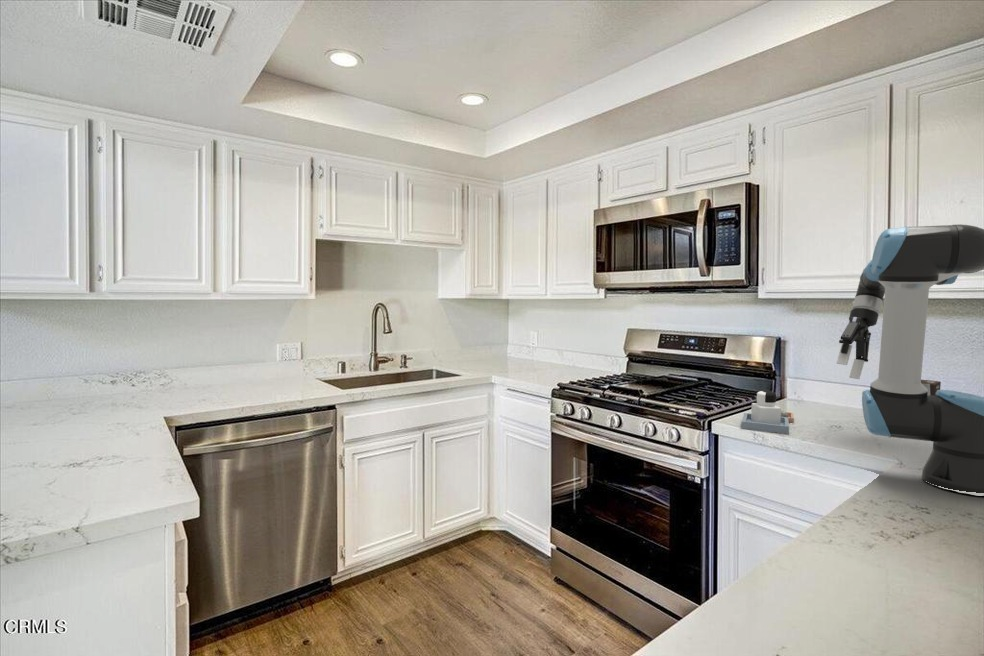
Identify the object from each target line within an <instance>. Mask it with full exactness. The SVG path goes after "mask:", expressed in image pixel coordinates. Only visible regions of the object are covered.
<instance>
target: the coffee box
mask: <svg viewBox="0 0 984 656" xmlns="http://www.w3.org/2000/svg"><path fill="white" fill-rule="evenodd" d="M921 383H922V384H923V385H924V386H925V387H926V388H927V389H928V395H932V396H936V395H935V393H936V392H937V391H938V390H941V384H942V383H941V381H939V380H930V379H921Z"/></svg>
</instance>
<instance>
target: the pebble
mask: <svg viewBox="0 0 984 656" xmlns="http://www.w3.org/2000/svg"><path fill="white" fill-rule="evenodd" d="M787 412H788V411H783V410H782V412H781V417H788V413H787Z"/></svg>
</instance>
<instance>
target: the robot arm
mask: <svg viewBox="0 0 984 656" xmlns="http://www.w3.org/2000/svg"><path fill="white" fill-rule="evenodd" d="M983 270H984V228H982V227H978V226H974V225H969V224H950V225H949V224H948V225H946V224H945V225H924V226H923V225H922V226H900V227H892V228H891V227H890V228H887V229H885V230H883V231H882V232H881V233H880V234H879V236H878V238H877V240H876V243H875V246H874V250H873V253H872V258H871V260H869V262H868V263H867V265H866V266H865V268H863V270H862V272H861V275H860V277H859V282H858V286H857V290H856V293H855V297H854V300H853V301H852V302H851V305H852V307H851V310H850V314H849V316H848V317H849V318H848V323H847V325H846V327H845V328H844V330H843V332H842V334H841V336H840V339H839V340H838V343H839V344H841V347H840V349H839V352H838V356H837V360H836V364H837V365H843V366H847V365H848V364H849V360H850V357H851V353H852V349H853V343H854V342H855V358H854V359H853V363H852V366H851V370H850V373H849V379H854V380H855V379H856V380H860V379H861V375H862V371H863V368H864V364H865V363H868V362H869V359H868V358H869V357H868V356H869V350H870V349H869V348H870V341H871V336H872V333H871V332H870V330H869V328H870V327H875V325H877V323H878V319H879V314H880V313H881V309H882V305H883V310H882V311H883V312H882V325H881V326H882V327H881V335H880V336H881V338H880V352H879V364H878V377H877V378H876V379H875V380H874V381H872V382H870V386H869V389H866V390H865V389H864V390H863V391H862V392H861V406H862V413H863V419H864V420H863V421H864V423H865V424H864V425H865V426H866V429H867V430H868V432H869V433H870V434H873V435H876V436H881V437H888V438H897V439H905V440H915V441H924V442H925V441H926V442H932V451H931V453H930V455H929V457H928V459H927V460H926V463H924V466H923V467H922V471H921V479H922V480H923V479H924V480H925V481H927V482H929V483H931V484H934V485H937V486H941V487H944V488H948V489H953V490H959V491H966V492H976V493H984V396H980V395H975V394H972V393H967V392H961V391H955V390H950V389H940V390H938V391H937V392H936V393H935V395H936V396H932V395H928V389H927V388H926V387H925V386H924V385H923V384H922V383H921V380H922V372H923V360H924V351H925V350H924V347H925V338H926V327H927V318H928V306H929V304H928V303H929V295H930V294H929V292H930V290H931V289H930V288H932V287H933V286H934V285H936V286H943V285H952V284H954V283H955V282H956V280H957V279H958V276H959V275H961V274H974V273H977V272H981V271H983ZM924 480H923V481H924ZM925 481H924V482H925Z"/></svg>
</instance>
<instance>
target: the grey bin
mask: <svg viewBox="0 0 984 656" xmlns="http://www.w3.org/2000/svg"><path fill="white" fill-rule="evenodd" d="M741 429H742V430H750V431H751V430H752V431H758V432H765V431H766V433H773V432H777V433H776V434H782V433H785V434H784V435H789V434H790V423H789V420H788V417H781V420H780V425H776V424H767V423H758V422H751V412H750V413H748V412H743V415H742V420H741Z"/></svg>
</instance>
